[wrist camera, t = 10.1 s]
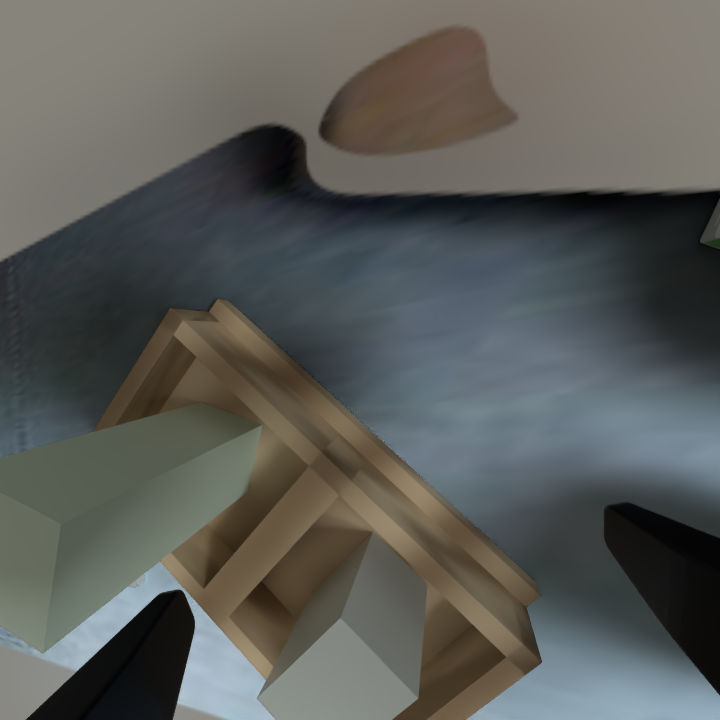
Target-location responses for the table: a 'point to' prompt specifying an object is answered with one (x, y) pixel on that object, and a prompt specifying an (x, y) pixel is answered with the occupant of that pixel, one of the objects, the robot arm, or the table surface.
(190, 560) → the oak housing tray
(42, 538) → the green block
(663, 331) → the table surface
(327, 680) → the grey jaw block
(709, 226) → the ink box
